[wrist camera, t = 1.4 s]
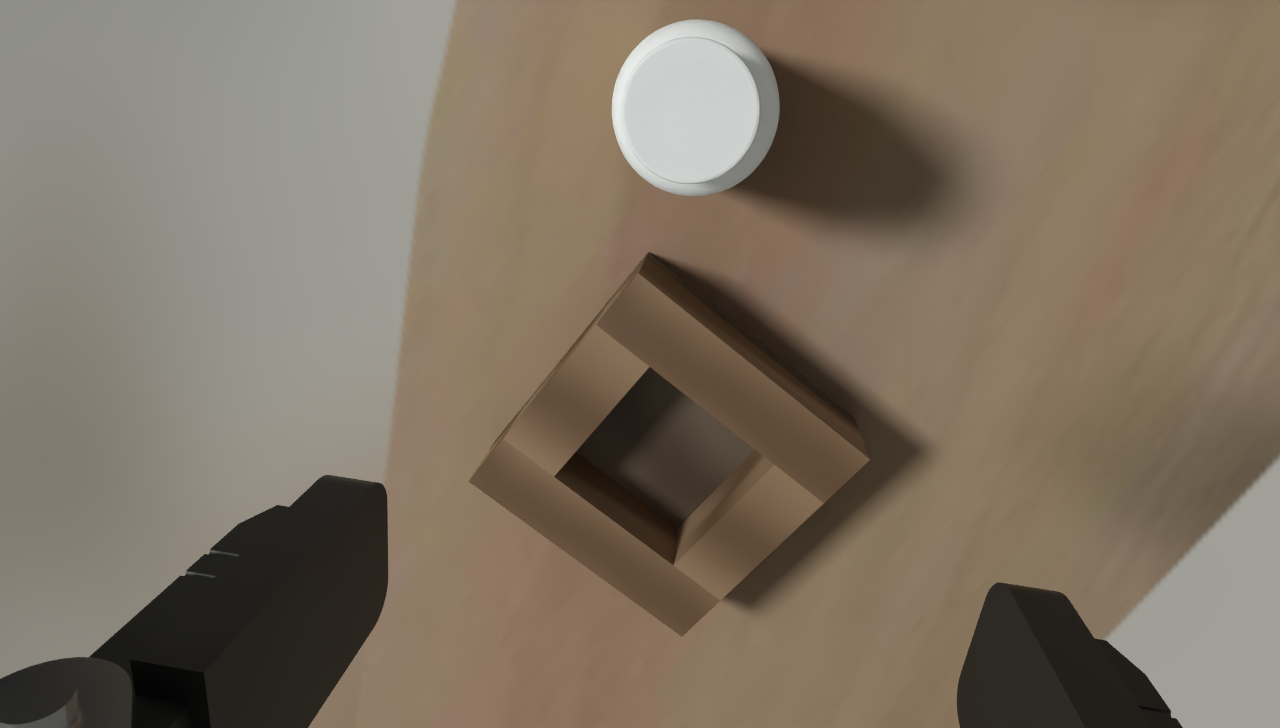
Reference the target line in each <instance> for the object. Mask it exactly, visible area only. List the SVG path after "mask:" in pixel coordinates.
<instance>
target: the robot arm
mask: <svg viewBox="0 0 1280 728" xmlns="http://www.w3.org/2000/svg"><path fill="white" fill-rule="evenodd" d="M387 586H388V524H387V494H386V490H385V488H384V486H383V485H382V484H381V483H376V482H369V481H363V480H357V479H351V478H345V477H338V476H332V475H324V476H322V477H321V478H320V479H318V480H317V481H316V482H315V483H314V484H313V485H312V486H311V487H310V488H309V489H308V490H307V491H306V492H305V493H304V494H303V495H301V496H300V497H299V498H298V499H297V500H296V501H295V502H294V503H293V504H292V505H291V506H290V507H286V506H279V505H277V506H275V507H273V508H271V509H269V510H266V511H265V512H263V513H260V514H258V515H256V516H254V517H252V518H250V519H248V520H246V521H244V522H242V523H240V524H238V525H237V526H236V527H235V528H233V530H231V531H230V532H229V533H228V534H227V535H226V536H224V538H222V539H221V540H220V541H219V542H218V543H217V544H215V545H214V546H213V547H212V548H211V549H210V553H209V555H207V554H204V555H203V556H202V557H201V558H200V559H199V560H198V561H197V562H195V563H194V564H193V565H192V566H191V567H190V568H189V569H187V572H186V575H185V576H180V577H178V578H177V579H176V580H175V581H174V582H173V583H172V584H171V585H170V586H168V587H167V588H166V589H165V590H164V591H163V592H162V593H160V595H158V596H157V597H156V598H155V599H154V600H153V601H151V603H149V604H148V605H147V606H146V607H145V608H144V609H143V610H141V611H140V612H139V613H138V614H137V615H136V616H135V617H133V618H132V620H130V621H129V622H128V623H127V624H126V625H125V626H123V628H121V629H120V630H119V631H118V632H117V633H115V634H114V635H113V636H112V637H111V638H110V639H109V640H108V641H107V642H106V643H104V644H103V645H102V646H101V647H100V648H99V649H98V650H97V651H95V652H94V653H93V654H92V655H91V656H90V657H74V658H64V659H58V660H53V661H48V662H44V663H40V664H37V665H33V666H30V667H27V668H25V669H22V670H19V671H16V672H14V673H12V674H10V675H7V676H5V677H3V678H1V679H0V728H308V727H309V725H310V723H311V722H312V721H313V719H314V718H315V716H316V715H317V713H318V712H319V710H320V709H321V707H322V705H323V704H324V702H325V701H326V699H327V698H328V696H329V695H330V693H331V692H332V690H333V689H334V687H335V686H336V684H337V683H338V681H339V680H340V678H341V677H342V675H343V674H344V672H345V671H346V669H347V668H348V666H349V665H350V663H351V661H352V660H353V658H354V657H355V655H356V654H357V652H358V651H359V649H360V648H361V646H362V645H363V643H364V642H365V640H366V639H367V637H368V636H369V634H370V633H371V631H372V630H373V628H374V626H375V625H376V623H377V621H378V619H379V616H380V614H381V611H382V608H383V605H384V601H385V597H386V592H387ZM957 712H958V719H959V724H960V728H1182V726H1181V725H1180V723H1179V722H1178V720H1177V719H1175V718H1171V710H1170V709H1169V708H1168V706H1167V705H1166V703H1165V702H1164V700H1163V699H1162V698H1161V696H1160V695H1159V693H1158V692H1157V690H1156V689H1155V688H1154V686H1153V685H1152V683H1151V682H1150V680H1149V679H1148V678H1147V676H1146V675H1145V674H1144V673H1143V672H1142V671H1141V670H1140V669H1138V668H1137V667H1136V666H1135V665H1134V664H1133V663H1131V662H1130V661H1129V660H1128V659H1127V658H1126V657H1124V656H1123V655H1122V654H1121V653H1120V652H1119V651H1117V650H1116V649H1115V648H1114V647H1113V646H1112V645H1110V644H1109V643H1108V642H1107V641H1105V640H1099V639H1094V637H1093V636H1092V634H1091V633H1090V631H1089V630H1088V628H1087V627H1086V625H1085V624H1084V622H1083V621H1082V619H1081V618H1080V616H1079V614H1078V613H1077V611H1076V610H1075V608H1074V607H1073V605H1072V604H1071V602H1070V601H1069V599H1068V598H1067V597H1066V596H1065V595H1064V594H1063V593H1060V592H1057V591H1050V590H1044V589H1038V588H1031V587H1025V586H1019V585H1012V584H1006V583H996V584H994V585H993V586H992V587H991V588H990V590H989V592H988V594H987V596H986V599H985V602H984V605H983V608H982V611H981V614H980V617H979V620H978V623H977V626H976V629H975V632H974V635H973V638H972V641H971V644H970V647H969V650H968V653H967V656H966V659H965V662H964V665H963V668H962V671H961V674H960V678H959V683H958V690H957Z"/></svg>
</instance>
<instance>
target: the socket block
mask: <svg viewBox="0 0 1280 728" xmlns="http://www.w3.org/2000/svg"><path fill="white" fill-rule="evenodd" d="M868 461H870V457H869V455H868V452H867V449H866V447H865V444H864V442H863V439H862V436H861V434H860V431H859V429H858V426H857V423H856V421H855V419H854V418H853V417H852V416H850V415H849V414H848V413H847V412H845V411H844V410H843V409H842V408H840V407H839V406H838V405H837V404H836V403H834V402H833V401H832V400H831V399H829V398H828V397H827V396H826V395H824V394H823V393H822V392H821V391H819V390H818V389H817V388H816V387H815V386H813V385H812V384H811V383H810V382H808V381H807V380H806V379H805V378H803V377H802V376H801V375H800V374H798V373H797V372H796V371H795V370H794V369H792V368H791V367H790V366H789V365H787V364H786V363H785V362H784V361H782V360H781V359H780V358H779V357H777V356H776V355H775V354H774V353H773V352H771V351H770V350H769V349H768V348H766V347H765V346H764V345H763V344H761V343H760V342H759V341H758V340H756V339H755V338H754V337H753V336H752V335H750V334H749V333H748V332H747V331H745V330H744V329H743V328H742V327H740V326H739V325H738V324H737V323H735V322H734V321H733V320H732V319H731V318H729V317H728V316H727V315H726V314H724V313H723V312H722V311H721V310H719V309H718V308H717V307H716V306H714V305H713V304H712V303H711V302H709V301H708V300H707V299H706V298H705V297H703V296H702V295H701V294H700V293H698V292H697V291H696V290H695V289H693V288H692V287H691V286H690V285H688V284H687V283H686V282H685V281H684V280H682V279H681V278H680V277H679V276H677V275H676V274H675V273H674V272H672V271H671V270H670V269H669V268H667V267H666V266H665V265H664V264H663V263H661V262H660V261H659V260H658V259H656V258H655V257H654V256H653V255H651V254H650V253H649V252H648V253H647V255H646V256H645V257H644V258H643V259H642V261H641V262H640V263H639V264H638V266H637V267H636V268H635V269H634V271H633V272H632V273H631V274H630V276H629V277H628V278H627V279H626V280H625V282H624V283H623V284H622V285H621V287H620V288H619V289H618V290H617V292H616V293H615V294H614V295H613V296H612V298H611V299H610V300H609V301H608V303H607V304H606V305H605V306H604V308H603V309H602V310H601V311H600V312H599V314H598V315H597V316H596V317H595V319H594V320H593V321H592V322H591V324H590V325H589V326H588V327H587V329H586V330H585V331H584V332H583V333H582V335H581V336H580V337H579V338H578V340H577V341H576V342H575V343H574V345H573V346H572V347H571V348H570V349H569V351H568V352H567V353H566V354H565V356H564V357H563V358H562V359H561V361H560V362H559V363H558V364H557V365H556V367H555V368H554V369H553V370H552V372H551V373H550V374H549V375H548V377H547V378H546V379H545V380H544V382H543V383H542V384H541V385H540V386H539V388H538V389H537V390H536V391H535V393H534V394H533V395H532V396H531V398H530V399H529V400H528V401H527V402H526V404H525V405H524V406H523V407H522V409H521V410H520V411H519V412H518V414H517V415H516V416H515V417H514V418H513V420H512V421H511V422H510V423H509V425H508V426H507V427H506V428H505V430H504V431H503V432H502V433H501V435H500V436H499V437H498V438H497V439H496V441H495V442H494V444H493V445H492V447H491V448H490V450H489V451H488V453H487V454H486V456H485V457H484V459H483V460H482V462H481V463H480V465H479V466H478V468H477V469H476V471H475V473H474V474H473V476H472V477H471V479H470V480H469V482H470V483H472V484H473V485H474V486H476V487H477V488H479V489H480V490H481V491H483V492H484V493H485V494H487V495H488V496H490V497H491V498H492V499H494V500H495V501H496V502H498V503H499V504H500V505H502V506H503V507H505V508H506V509H507V510H509V511H510V512H511V513H513V514H514V515H516V516H517V517H518V518H520V519H521V520H522V521H524V522H525V523H527V524H528V525H529V526H531V527H532V528H533V529H535V530H536V531H538V532H539V533H540V534H542V535H543V536H544V537H546V538H547V539H549V540H550V541H551V542H553V543H554V544H555V545H557V546H558V547H560V548H561V549H562V550H564V551H565V552H566V553H568V554H569V555H571V556H572V557H573V558H575V559H576V560H577V561H579V562H580V563H582V564H583V565H584V566H586V567H587V568H588V569H590V570H591V571H593V572H594V573H595V574H597V575H598V576H599V577H601V578H602V579H604V580H605V581H606V582H608V583H609V584H610V585H612V586H613V587H615V588H616V589H617V590H619V591H620V592H621V593H623V594H624V595H625V596H627V597H628V598H630V599H631V600H632V601H634V602H635V603H636V604H638V605H639V606H641V607H642V608H643V609H645V610H646V611H647V612H649V613H650V614H652V615H653V616H654V617H656V618H657V619H658V620H660V621H661V622H663V623H664V624H665V625H667V626H668V627H669V628H671V629H672V630H674V631H675V632H676V633H678V634H679V635H680V636H683V635H684V634H685V633H686V632H687V631H688V630H689V629H691V628H692V627H693V626H694V625H695V624H696V623H697V622H698V621H699V620H700V619H701V618H702V617H703V616H704V615H705V614H707V613H708V612H709V611H710V610H711V609H712V608H713V607H714V606H715V605H716V604H717V603H718V602H719V601H720V600H721V599H722V598H724V597H725V596H726V595H727V594H728V593H729V592H730V591H731V590H732V589H733V588H734V587H735V586H736V585H737V584H738V583H740V582H741V581H742V580H743V579H744V578H745V577H746V576H747V575H748V574H749V573H750V572H751V571H752V570H753V569H754V568H756V567H757V566H758V565H759V564H760V563H761V562H762V561H763V560H764V559H765V558H766V557H767V556H768V555H769V554H770V553H771V552H773V551H774V550H775V549H776V548H777V547H778V546H779V545H780V544H781V543H782V542H783V541H784V540H785V539H786V538H787V537H789V536H790V535H791V534H792V533H793V532H794V531H795V530H796V529H797V528H798V527H799V526H800V525H801V524H802V523H803V522H805V521H806V520H807V519H808V518H809V517H810V516H811V515H812V514H813V513H814V512H815V511H816V510H817V509H818V508H819V507H821V506H822V505H823V504H824V503H825V502H826V501H827V500H828V499H829V498H830V497H831V496H832V495H833V494H834V493H835V492H836V491H838V490H839V489H840V488H841V487H842V486H843V485H844V484H845V483H846V482H847V481H848V480H849V479H850V478H851V477H852V476H854V475H855V474H856V473H857V472H858V471H859V470H860V469H861V468H862V467H863V466H864V465H865V464H866V463H867V462H868Z"/></svg>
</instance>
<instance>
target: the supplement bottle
mask: <svg viewBox="0 0 1280 728" xmlns="http://www.w3.org/2000/svg"><path fill="white" fill-rule="evenodd" d="M779 111H780V103H779V92H778V86H777V82H776V78H775V75H774V72H773V70H772V68H771V65H770V63H769V62H768V60H767V58H766V57H765V55H764V54H763V52H762V51H761V50H760V48H759V47H758V46H757V45H756V44H755V43H754V42H753V41H752V40H750V39H749V38H748V37H747V36H745V35H744V34H743V33H741V32H740V31H738V30H736V29H734V28H732V27H730V26H728V25H726V24H723V23H719V22H715V21H710V20H685V21H680V22H676V23H673V24H670V25H667V26H665V27H663V28H661V29H659V30H657V31H655V32H653V33H652V34H650V35H649V36H648V37H646V38H645V39H644V40H643V41H642V42H641V43H640V44H638V46H637V47H636V48H635V49H634V50H633V51H632V52H631V54H630V55H629V57H628V58H627V60H626V61H625V63H624V65H623V66H622V68H621V71H620V73H619V75H618V78H617V80H616V84H615V87H614V92H613V98H612V119H613V126H614V130H615V134H616V138H617V141H618V144H619V146H620V148H621V151H622V153H623V155H624V156H625V158H626V159H627V161H628V162H629V164H630V165H631V166H632V167H633V168H634V170H635V171H636V172H637V173H638V174H639V175H640V176H642V177H643V178H644V179H645V180H646V181H648V182H649V183H651V184H652V185H654V186H656V187H657V188H660V189H662V190H664V191H667V192H670V193H673V194H677V195H682V196H705V195H711V194H715V193H718V192H722V191H725V190H727V189H729V188H731V187H733V186H735V185H737V184H738V183H740V182H741V181H743V180H744V179H745V178H746V177H748V176H749V175H750V174H751V173H752V172H753V171H754V170H755V169H756V168H757V167H758V166H759V164H760V163H761V162H762V160H763V159H764V158H765V156H766V154H767V152H768V151H769V149H770V147H771V145H772V142H773V139H774V137H775V134H776V131H777V126H778V121H779Z"/></svg>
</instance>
